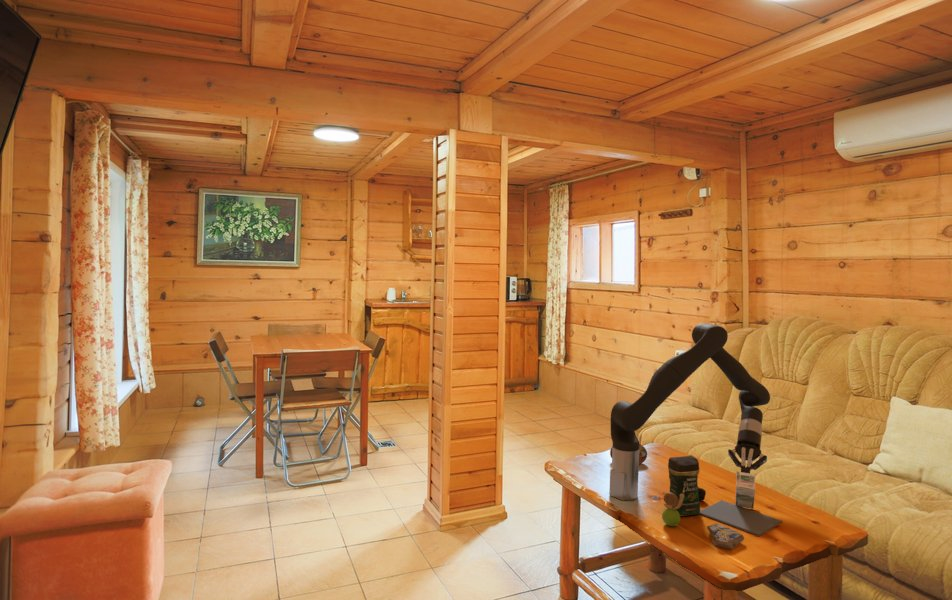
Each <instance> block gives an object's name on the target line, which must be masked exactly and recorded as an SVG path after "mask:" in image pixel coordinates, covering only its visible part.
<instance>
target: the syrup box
mask: <svg viewBox="0 0 952 600" xmlns="http://www.w3.org/2000/svg"><path fill="white" fill-rule="evenodd" d="M735 473H736V476H735V477H736V478H735V502H734V503H735V505H737V506H740V507H743V508H746V509H750V510H751V509H754V508H755V507H754V506H755V496H756V474H755V473H754V474H753V473H750V474H749V473H743V472H741V471H736V472H735Z"/></svg>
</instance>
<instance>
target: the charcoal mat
mask: <svg viewBox="0 0 952 600" xmlns="http://www.w3.org/2000/svg"><path fill="white" fill-rule="evenodd" d="M698 515H701V516H703V517H705V518H708V519H711V520H714V521H716V522H718V523H719V522H720V523H722V524H725V525H727V526H730V527H733V528H736V529H738V530H740V531H741V530H742V531H744V532H747V533H749V534H751V535H754V536H758V537H761V536H762V535H764V534H766V533H767V532H769V531H770V530H772V529H773V528H775V527H777V526H778V525H780V524H782V522H783V520H782V519H780V518H775V517H773V516H770V515H767V514H764V513H760V512H758V511H755V510H751V509H750V508H746V507H740V506H737V505H735V504H734V503H732V502H729V501H725V500H722V499H721V500H719V501H716V502H715V503H713V504H711V505H708V506H707V507H705V508H703V509H700V512H699V514H698Z"/></svg>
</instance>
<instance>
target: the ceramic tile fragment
mask: <svg viewBox="0 0 952 600" xmlns="http://www.w3.org/2000/svg"><path fill="white" fill-rule="evenodd" d="M706 530H708V532H709V534H710V538H711V541H712V542H711V543H712V544H713V546H714V547H718V548H723V549H727V550H734V549H735V548H736V547H737V546H738V545H740V544H741V543H742V542H744V540H745V536H744V534H742V533H741V532H739V531H737V530H735V529H733V528H730V527H727V526H725V525H722V524H719V523H711V524H710V525H707V526H706Z"/></svg>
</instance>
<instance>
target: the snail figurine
mask: <svg viewBox="0 0 952 600" xmlns="http://www.w3.org/2000/svg"><path fill="white" fill-rule="evenodd" d="M684 492H685V490H683V494H680V499H679V501H678V497H677V496H676V495H675V494H673V493H669V492H666V493H665V494H664V496H663V501H664V503H663V506H664V507H665V509H664V510H663V511H662V513H661V518H662V522H663V523H664V524H665V525H667V526H669V527H675V526H677V525H679V524H680V521H681V516H680V514H679V512H678V511H677V510H676V509H679V508H680V507H681V505H682V502H683V499H684Z"/></svg>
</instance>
